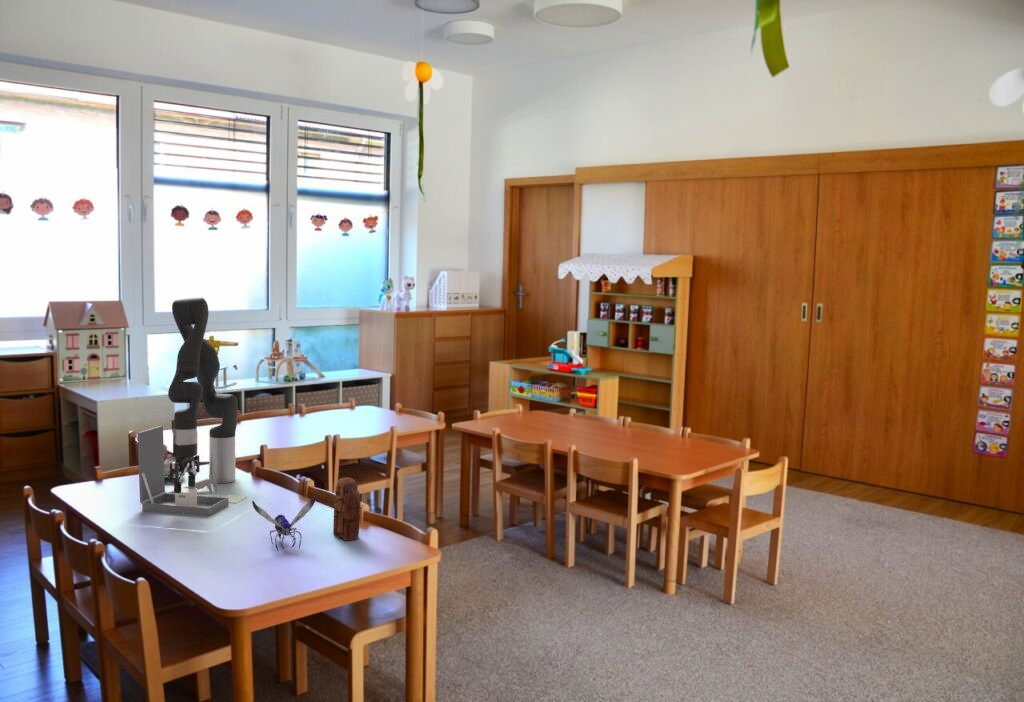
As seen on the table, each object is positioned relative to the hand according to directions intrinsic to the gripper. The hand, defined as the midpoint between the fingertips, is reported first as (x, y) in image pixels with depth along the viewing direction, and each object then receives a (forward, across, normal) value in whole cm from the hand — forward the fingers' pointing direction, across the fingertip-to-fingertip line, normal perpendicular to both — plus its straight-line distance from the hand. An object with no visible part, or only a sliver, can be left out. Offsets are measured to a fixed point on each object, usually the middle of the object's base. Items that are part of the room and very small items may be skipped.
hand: (184, 489), depth 271 cm
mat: (+6, -14, +9) cm, 18 cm away
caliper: (+7, -17, -9) cm, 20 cm away
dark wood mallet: (+7, +12, +60) cm, 62 cm away
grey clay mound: (+6, -33, -26) cm, 43 cm away
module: (+6, 0, 0) cm, 6 cm away
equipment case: (+7, 0, 0) cm, 7 cm away
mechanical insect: (+7, +24, +46) cm, 52 cm away
